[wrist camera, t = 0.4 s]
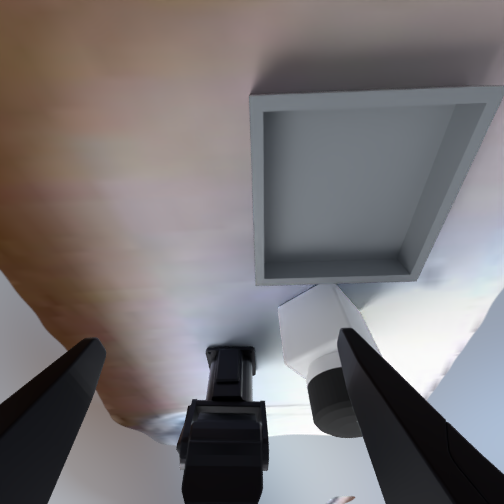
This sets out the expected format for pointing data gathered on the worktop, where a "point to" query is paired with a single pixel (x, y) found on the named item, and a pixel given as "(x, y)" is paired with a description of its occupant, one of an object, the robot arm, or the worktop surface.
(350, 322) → the medicine bottle
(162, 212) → the worktop surface
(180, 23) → the worktop surface
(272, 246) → the bin
